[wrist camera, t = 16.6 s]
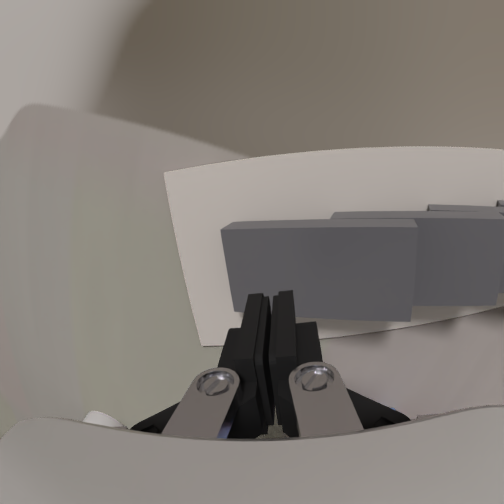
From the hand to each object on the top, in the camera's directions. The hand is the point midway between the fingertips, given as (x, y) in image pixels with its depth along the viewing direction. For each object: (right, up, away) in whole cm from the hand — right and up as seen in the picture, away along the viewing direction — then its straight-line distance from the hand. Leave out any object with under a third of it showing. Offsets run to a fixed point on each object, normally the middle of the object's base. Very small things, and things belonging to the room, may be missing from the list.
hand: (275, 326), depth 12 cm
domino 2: (+4, +2, +6) cm, 7 cm away
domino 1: (-2, +2, +6) cm, 7 cm away
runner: (+12, +4, +6) cm, 14 cm away
